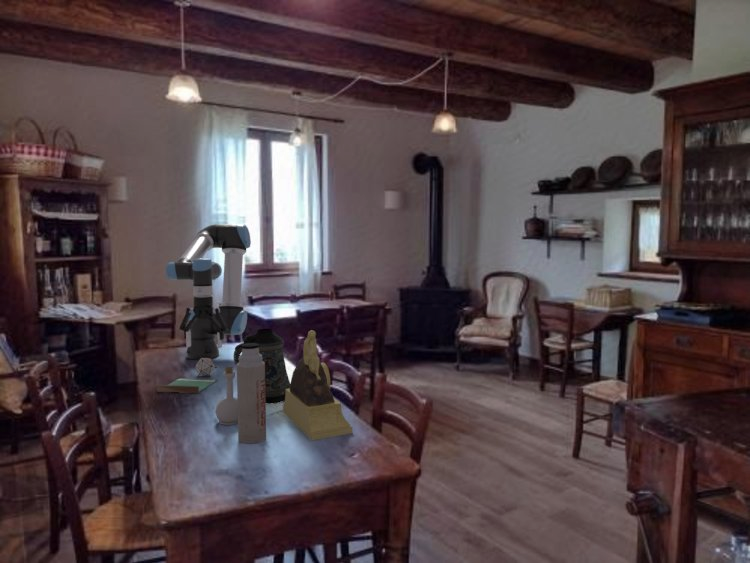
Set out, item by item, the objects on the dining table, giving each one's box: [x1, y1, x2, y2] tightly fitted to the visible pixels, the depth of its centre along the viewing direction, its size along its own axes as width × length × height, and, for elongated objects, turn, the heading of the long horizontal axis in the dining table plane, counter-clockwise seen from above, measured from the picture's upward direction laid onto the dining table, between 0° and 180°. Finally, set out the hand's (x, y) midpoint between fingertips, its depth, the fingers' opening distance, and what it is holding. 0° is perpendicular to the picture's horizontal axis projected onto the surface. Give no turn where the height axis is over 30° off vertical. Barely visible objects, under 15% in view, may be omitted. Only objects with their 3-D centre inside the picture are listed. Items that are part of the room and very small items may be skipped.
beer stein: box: [233, 328, 291, 405], centre depth 200 cm, size 16×19×25 cm
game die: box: [193, 356, 218, 378], centre depth 231 cm, size 9×8×10 cm
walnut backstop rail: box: [156, 384, 200, 395], centre depth 208 cm, size 1×16×2 cm, turn 82°
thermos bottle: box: [236, 343, 267, 444], centre depth 161 cm, size 8×8×28 cm
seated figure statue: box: [282, 329, 353, 441], centre depth 175 cm, size 28×13×30 cm, turn 26°
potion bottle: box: [214, 366, 238, 426], centre depth 176 cm, size 9×9×18 cm
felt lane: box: [168, 377, 218, 393], centre depth 217 cm, size 17×16×1 cm
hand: (204, 347), depth 230 cm, fingers open, 13 cm apart
